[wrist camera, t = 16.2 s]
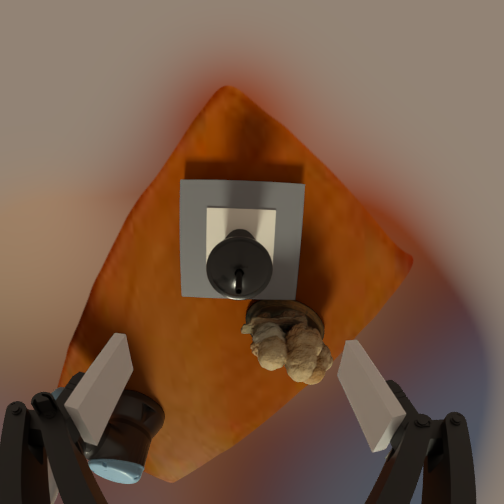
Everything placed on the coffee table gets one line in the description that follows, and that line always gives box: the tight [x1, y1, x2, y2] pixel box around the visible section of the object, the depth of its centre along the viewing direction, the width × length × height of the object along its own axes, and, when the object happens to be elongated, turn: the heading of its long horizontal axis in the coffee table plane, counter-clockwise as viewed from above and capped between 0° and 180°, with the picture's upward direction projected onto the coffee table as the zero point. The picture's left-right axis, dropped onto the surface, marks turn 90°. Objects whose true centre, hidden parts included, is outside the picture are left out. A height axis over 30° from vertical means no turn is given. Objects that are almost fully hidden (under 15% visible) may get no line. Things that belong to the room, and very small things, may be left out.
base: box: [180, 180, 305, 300], centre depth 46 cm, size 20×20×3 cm
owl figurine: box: [241, 299, 333, 385], centre depth 44 cm, size 18×12×17 cm, turn 62°
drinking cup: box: [206, 229, 273, 300], centre depth 35 cm, size 8×8×20 cm
